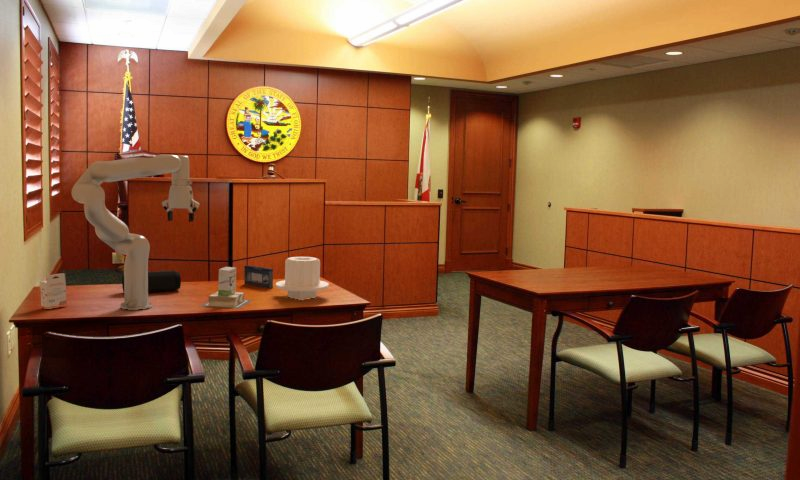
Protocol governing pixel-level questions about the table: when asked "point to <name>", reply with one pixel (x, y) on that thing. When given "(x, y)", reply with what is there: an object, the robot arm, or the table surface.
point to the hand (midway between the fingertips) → (180, 221)
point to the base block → (226, 299)
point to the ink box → (227, 281)
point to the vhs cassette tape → (258, 276)
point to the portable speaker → (162, 281)
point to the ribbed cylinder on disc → (302, 278)
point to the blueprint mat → (228, 306)
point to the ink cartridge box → (53, 290)
